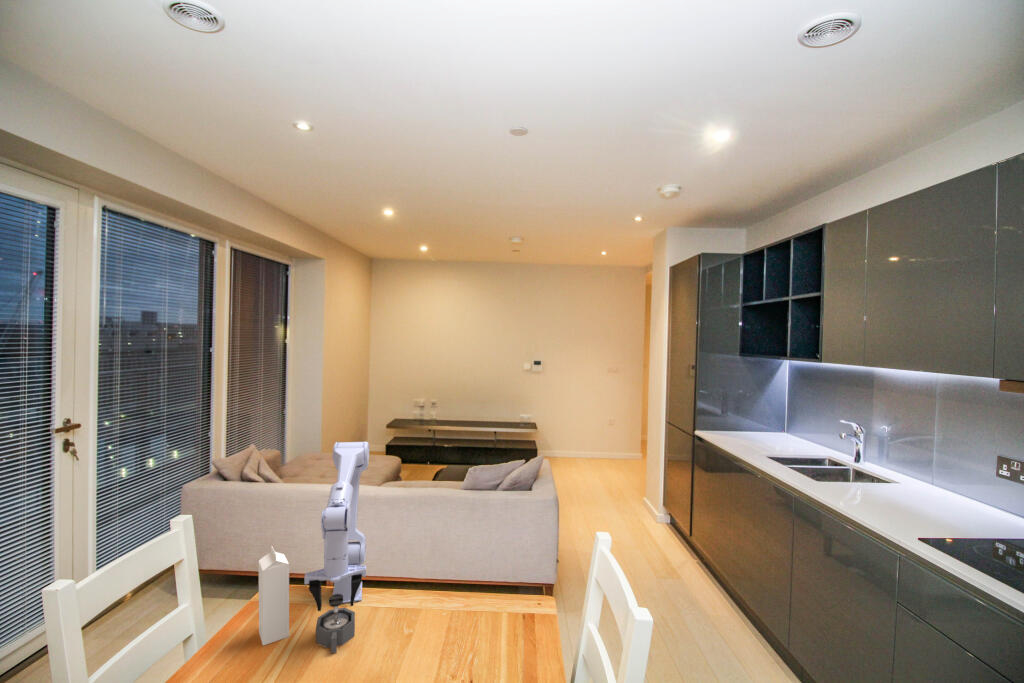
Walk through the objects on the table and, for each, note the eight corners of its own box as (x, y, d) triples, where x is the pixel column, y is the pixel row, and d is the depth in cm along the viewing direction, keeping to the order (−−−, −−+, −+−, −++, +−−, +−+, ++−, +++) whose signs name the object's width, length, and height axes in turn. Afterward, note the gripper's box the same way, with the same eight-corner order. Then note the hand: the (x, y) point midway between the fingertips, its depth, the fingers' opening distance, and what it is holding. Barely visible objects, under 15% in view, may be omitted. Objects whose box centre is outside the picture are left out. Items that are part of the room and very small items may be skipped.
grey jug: (318, 626, 122) (318, 611, 122) (355, 620, 125) (355, 606, 124) (313, 657, 111) (313, 640, 111) (353, 650, 114) (353, 634, 113)
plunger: (324, 617, 121) (324, 593, 121) (348, 613, 123) (349, 589, 122) (322, 632, 115) (322, 606, 115) (347, 628, 117) (347, 603, 117)
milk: (262, 646, 114) (261, 558, 113) (258, 632, 119) (257, 548, 118) (289, 636, 118) (289, 551, 117) (284, 623, 123) (284, 541, 122)
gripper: (302, 565, 112) (302, 620, 113) (366, 558, 116) (365, 611, 117) (306, 551, 119) (306, 603, 119) (366, 544, 123) (366, 595, 124)
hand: (336, 606), depth 119 cm, fingers open, 7 cm apart
